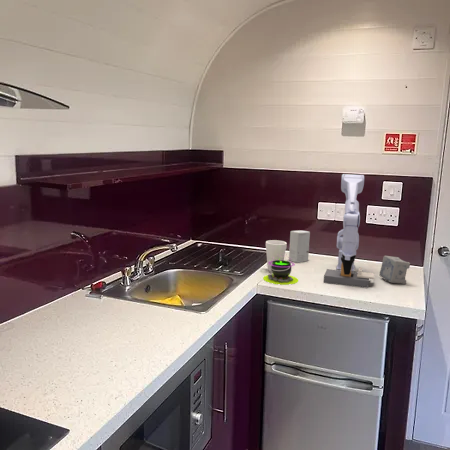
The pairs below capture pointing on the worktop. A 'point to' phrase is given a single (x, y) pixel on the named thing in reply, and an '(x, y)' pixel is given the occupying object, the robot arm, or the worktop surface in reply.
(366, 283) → the socket
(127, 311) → the worktop surface
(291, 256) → the skincare box
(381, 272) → the grey rough block
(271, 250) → the foam cup
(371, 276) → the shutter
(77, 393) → the worktop surface
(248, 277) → the worktop surface
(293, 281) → the toy cauldron
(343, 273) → the orange bottle
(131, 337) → the worktop surface
